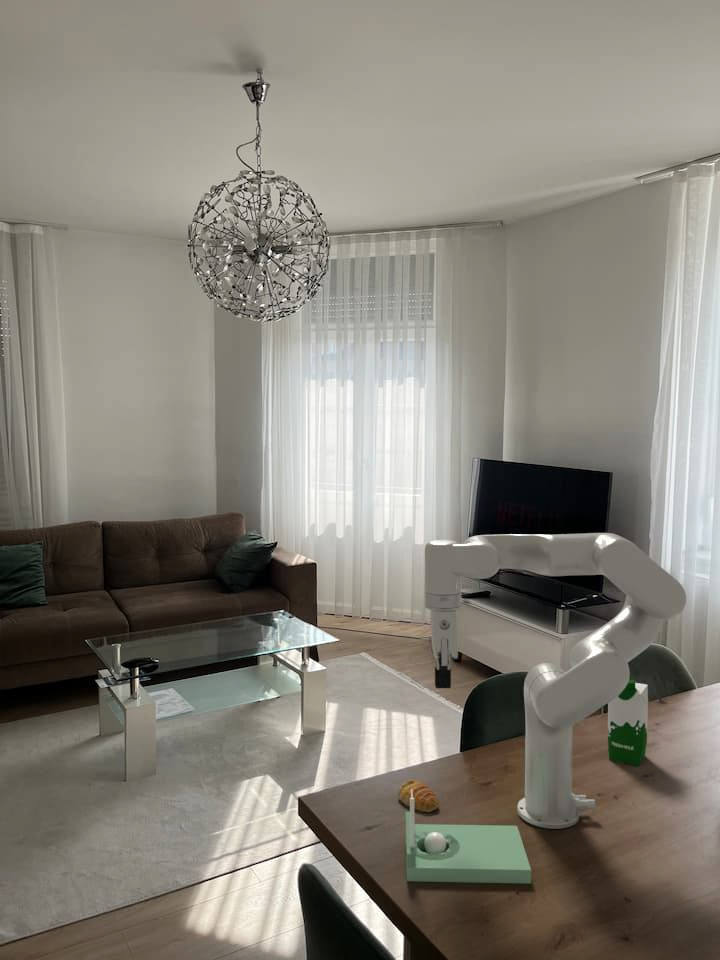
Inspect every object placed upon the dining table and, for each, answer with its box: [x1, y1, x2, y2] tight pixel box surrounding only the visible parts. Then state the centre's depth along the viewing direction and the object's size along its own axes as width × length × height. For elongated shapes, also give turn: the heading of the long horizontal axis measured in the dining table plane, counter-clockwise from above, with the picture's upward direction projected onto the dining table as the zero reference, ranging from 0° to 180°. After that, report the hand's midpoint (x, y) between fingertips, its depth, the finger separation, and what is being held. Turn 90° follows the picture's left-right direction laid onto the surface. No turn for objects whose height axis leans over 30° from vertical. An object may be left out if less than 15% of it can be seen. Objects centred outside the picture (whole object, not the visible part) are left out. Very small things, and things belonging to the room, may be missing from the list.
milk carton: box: [607, 677, 649, 767], centre depth 184 cm, size 9×9×20 cm
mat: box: [405, 811, 532, 885], centre depth 142 cm, size 22×15×5 cm
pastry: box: [397, 779, 440, 813], centre depth 163 cm, size 9×7×4 cm
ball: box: [424, 832, 446, 854], centre depth 143 cm, size 4×4×4 cm
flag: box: [409, 789, 415, 848], centre depth 139 cm, size 1×4×14 cm, turn 178°
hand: (442, 686), depth 157 cm, fingers closed
